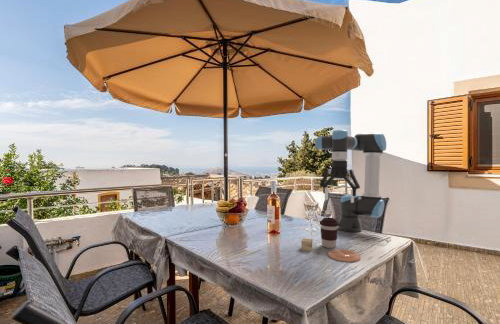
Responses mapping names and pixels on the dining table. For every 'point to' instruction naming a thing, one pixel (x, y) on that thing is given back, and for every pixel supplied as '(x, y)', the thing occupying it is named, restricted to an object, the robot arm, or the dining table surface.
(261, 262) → the dining table surface
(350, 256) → the saucer
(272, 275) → the dining table surface
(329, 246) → the coffee cup
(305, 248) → the tan cube
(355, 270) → the dining table surface
